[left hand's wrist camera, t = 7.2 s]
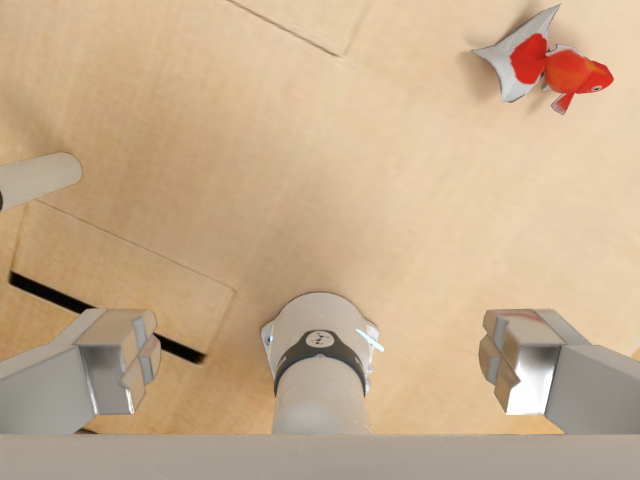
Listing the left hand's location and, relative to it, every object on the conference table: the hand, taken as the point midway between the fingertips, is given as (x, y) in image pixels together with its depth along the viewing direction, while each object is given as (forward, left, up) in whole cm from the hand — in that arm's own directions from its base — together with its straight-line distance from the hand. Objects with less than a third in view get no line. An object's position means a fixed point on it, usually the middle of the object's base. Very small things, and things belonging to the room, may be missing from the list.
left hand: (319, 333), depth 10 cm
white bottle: (-4, +35, -48) cm, 60 cm away
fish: (+8, -26, -48) cm, 55 cm away
